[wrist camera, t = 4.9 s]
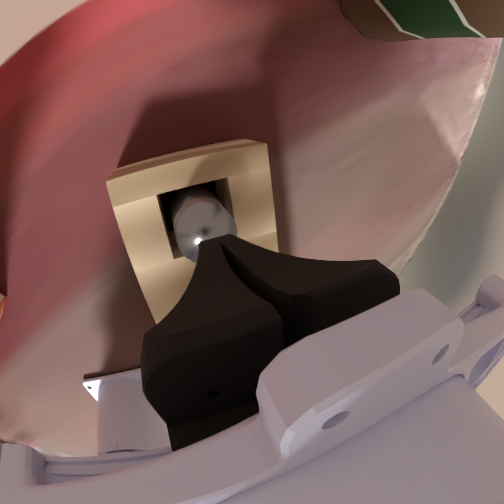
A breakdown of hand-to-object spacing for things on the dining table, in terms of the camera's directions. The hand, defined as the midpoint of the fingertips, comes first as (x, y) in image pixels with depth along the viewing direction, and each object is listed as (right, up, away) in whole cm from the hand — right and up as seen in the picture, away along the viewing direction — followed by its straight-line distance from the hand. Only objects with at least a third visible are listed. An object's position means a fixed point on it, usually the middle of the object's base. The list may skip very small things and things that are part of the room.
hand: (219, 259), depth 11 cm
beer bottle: (+12, +22, +5) cm, 26 cm away
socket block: (-3, +1, +10) cm, 10 cm away
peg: (-2, +3, +6) cm, 7 cm away
